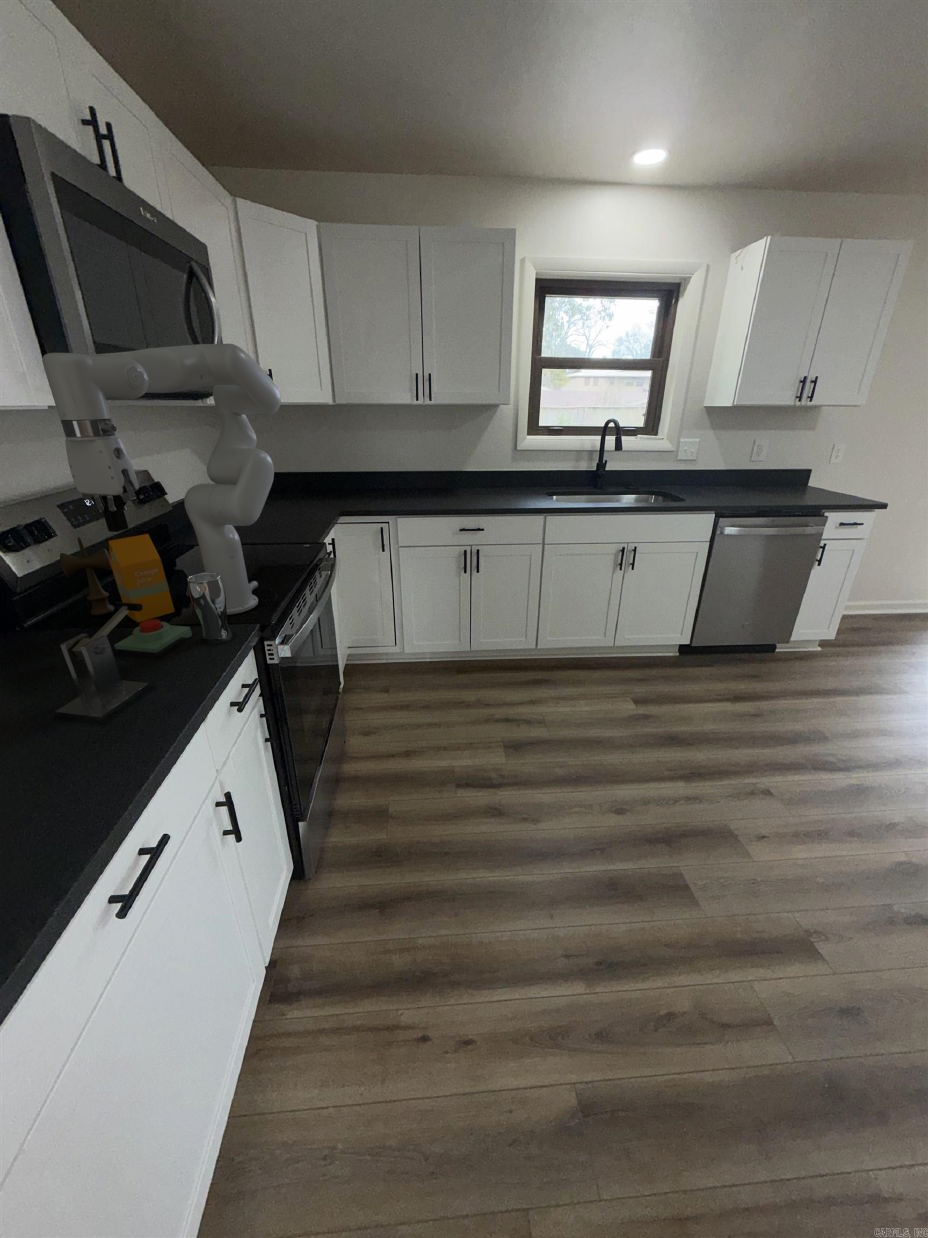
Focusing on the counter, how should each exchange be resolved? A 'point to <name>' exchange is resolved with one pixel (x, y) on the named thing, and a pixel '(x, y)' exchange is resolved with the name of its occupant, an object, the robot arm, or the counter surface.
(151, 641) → the button block
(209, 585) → the beer glass
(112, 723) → the counter surface
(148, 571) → the orange juice
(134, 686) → the lever bracket
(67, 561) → the kendama
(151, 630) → the button
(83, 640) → the stove lever
